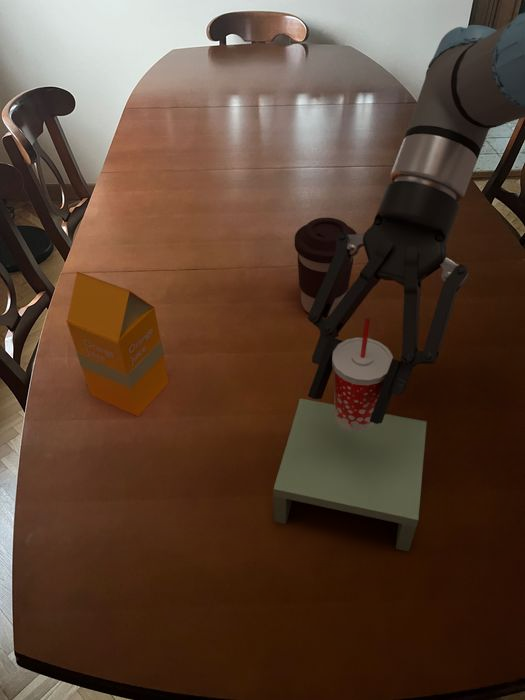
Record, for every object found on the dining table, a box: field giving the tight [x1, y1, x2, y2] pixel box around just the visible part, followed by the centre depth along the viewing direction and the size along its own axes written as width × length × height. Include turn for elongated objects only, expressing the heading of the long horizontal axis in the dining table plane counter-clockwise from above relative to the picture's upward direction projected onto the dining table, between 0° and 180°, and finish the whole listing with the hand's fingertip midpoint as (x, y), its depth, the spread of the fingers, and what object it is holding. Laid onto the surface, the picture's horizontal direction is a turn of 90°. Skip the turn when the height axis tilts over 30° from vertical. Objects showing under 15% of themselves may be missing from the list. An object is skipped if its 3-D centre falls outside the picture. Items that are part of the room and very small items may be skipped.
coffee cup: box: [294, 217, 358, 318], centre depth 96 cm, size 10×10×15 cm
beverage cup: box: [332, 318, 394, 432], centre depth 61 cm, size 6×6×14 cm
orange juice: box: [65, 271, 170, 418], centre depth 81 cm, size 8×9×20 cm
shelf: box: [272, 398, 427, 552], centre depth 72 cm, size 14×16×7 cm
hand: (344, 409), depth 60 cm, fingers closed on beverage cup, 6 cm apart
